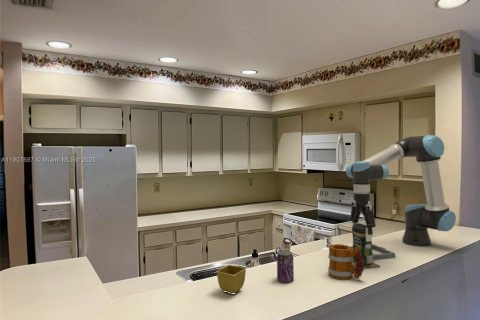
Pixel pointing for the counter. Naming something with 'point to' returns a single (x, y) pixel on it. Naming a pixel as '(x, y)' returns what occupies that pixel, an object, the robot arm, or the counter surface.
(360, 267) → the mug
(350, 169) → the robot arm
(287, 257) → the beverage can
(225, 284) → the flower pot
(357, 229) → the coffee jar
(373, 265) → the pad
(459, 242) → the counter surface
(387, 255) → the grey square shallow frame
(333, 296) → the counter surface
